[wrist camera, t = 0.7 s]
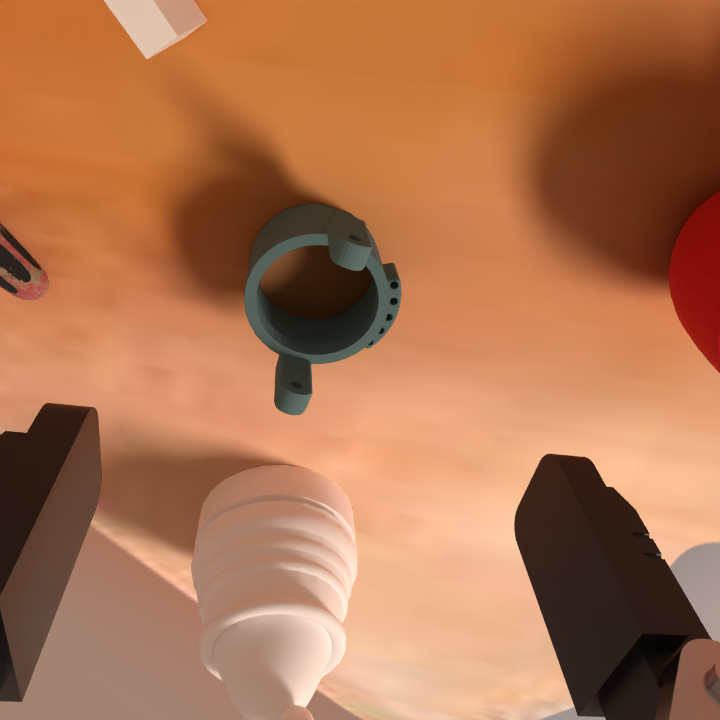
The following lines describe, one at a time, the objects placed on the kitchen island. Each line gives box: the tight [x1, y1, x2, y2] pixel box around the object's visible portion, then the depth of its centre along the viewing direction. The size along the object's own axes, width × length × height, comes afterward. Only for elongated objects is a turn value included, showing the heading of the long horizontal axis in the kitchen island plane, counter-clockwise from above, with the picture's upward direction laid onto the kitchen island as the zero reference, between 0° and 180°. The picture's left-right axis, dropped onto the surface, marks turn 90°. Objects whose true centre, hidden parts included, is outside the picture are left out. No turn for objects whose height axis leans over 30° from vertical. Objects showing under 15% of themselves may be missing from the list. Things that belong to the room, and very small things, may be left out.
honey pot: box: [191, 465, 358, 720], centre depth 43 cm, size 13×13×18 cm
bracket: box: [244, 204, 401, 415], centre depth 35 cm, size 9×9×9 cm
